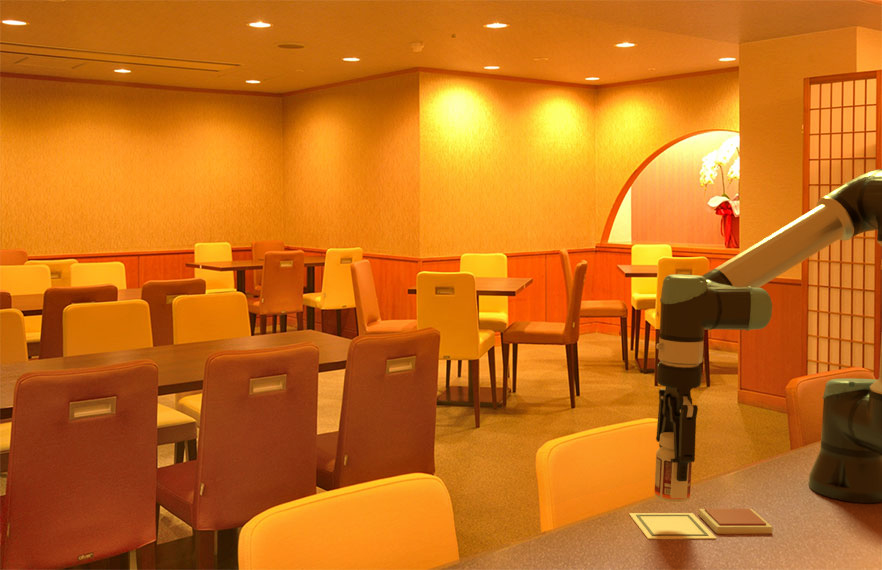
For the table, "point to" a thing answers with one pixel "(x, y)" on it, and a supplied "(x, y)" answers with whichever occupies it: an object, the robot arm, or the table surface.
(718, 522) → the pad
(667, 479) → the pill bottle
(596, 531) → the table surface
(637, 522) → the paper sheet
